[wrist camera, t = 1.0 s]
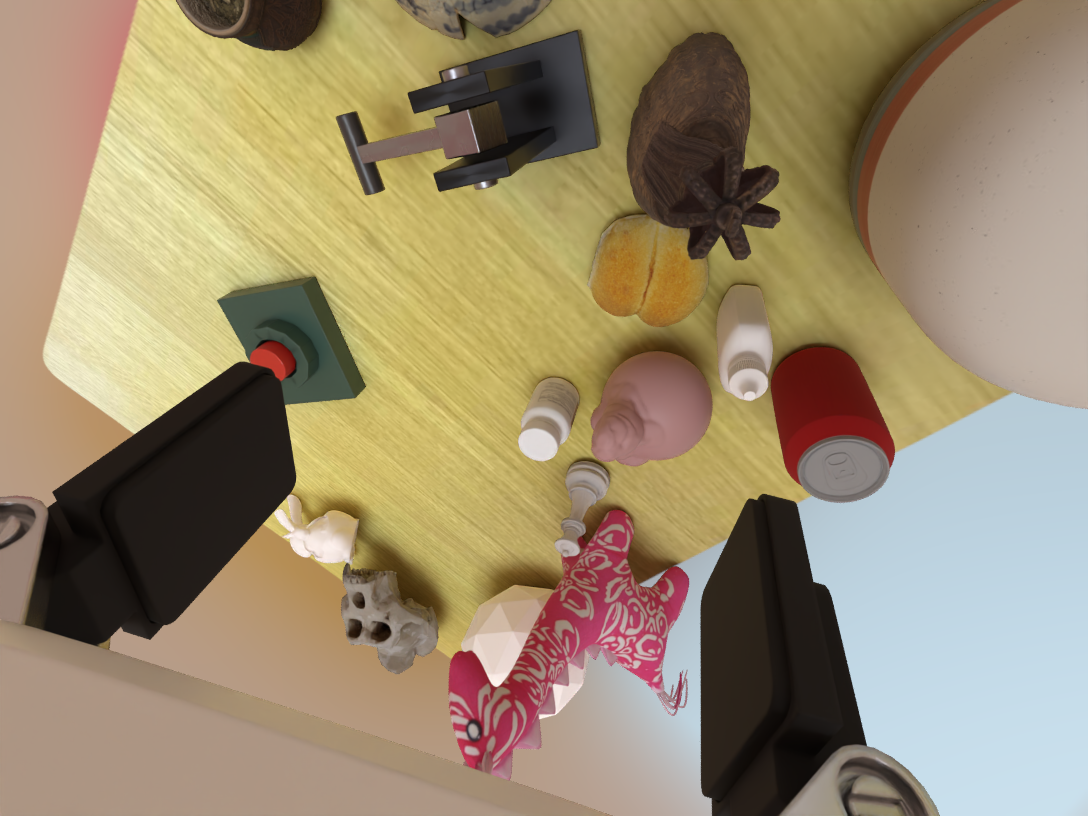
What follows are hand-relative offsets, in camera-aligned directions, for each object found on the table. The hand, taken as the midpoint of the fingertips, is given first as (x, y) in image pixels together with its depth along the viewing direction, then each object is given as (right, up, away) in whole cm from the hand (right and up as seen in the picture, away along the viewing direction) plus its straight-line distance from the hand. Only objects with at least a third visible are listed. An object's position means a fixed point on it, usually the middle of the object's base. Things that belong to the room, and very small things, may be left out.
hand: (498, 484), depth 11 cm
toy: (+9, -13, +51) cm, 53 cm away
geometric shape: (+4, -21, +52) cm, 56 cm away
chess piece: (+6, -5, +46) cm, 47 cm away
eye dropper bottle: (+17, +9, +34) cm, 38 cm away
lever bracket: (-1, +23, +29) cm, 37 cm away
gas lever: (-6, +18, +24) cm, 31 cm away
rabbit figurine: (-22, -14, +58) cm, 64 cm away
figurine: (+11, +3, +39) cm, 40 cm away
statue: (+11, +21, +27) cm, 36 cm away
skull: (-17, -15, +62) cm, 67 cm away
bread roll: (+9, +13, +33) cm, 37 cm away
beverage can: (+23, +4, +35) cm, 42 cm away
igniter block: (-24, +8, +45) cm, 52 cm away
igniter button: (-24, +6, +42) cm, 49 cm away
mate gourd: (-17, +31, +28) cm, 45 cm away
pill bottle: (+2, +3, +42) cm, 42 cm away
